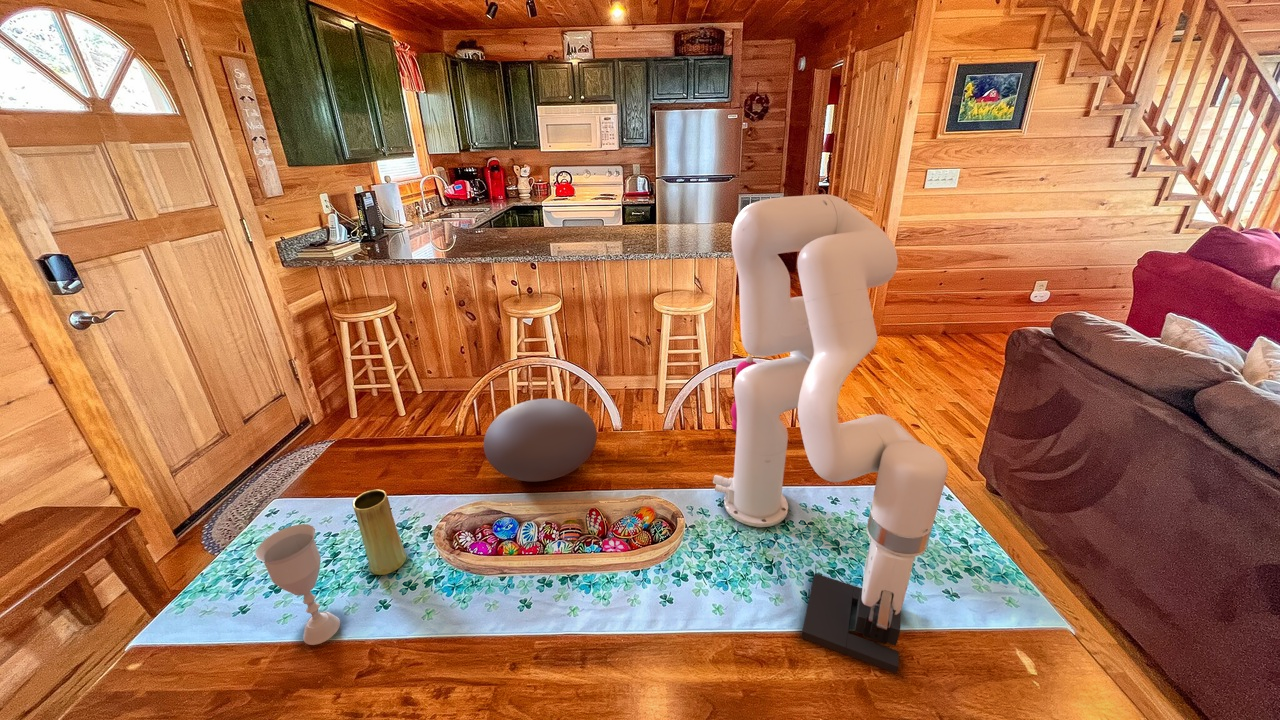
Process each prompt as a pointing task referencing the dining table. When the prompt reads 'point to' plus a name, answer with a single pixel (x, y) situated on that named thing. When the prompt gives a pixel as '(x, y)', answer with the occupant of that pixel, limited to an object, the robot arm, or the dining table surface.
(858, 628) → the connector pad
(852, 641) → the base pad
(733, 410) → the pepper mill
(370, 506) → the vase
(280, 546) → the chalice
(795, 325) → the robot arm
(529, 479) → the flattened ellipsoid
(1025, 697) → the dining table surface
